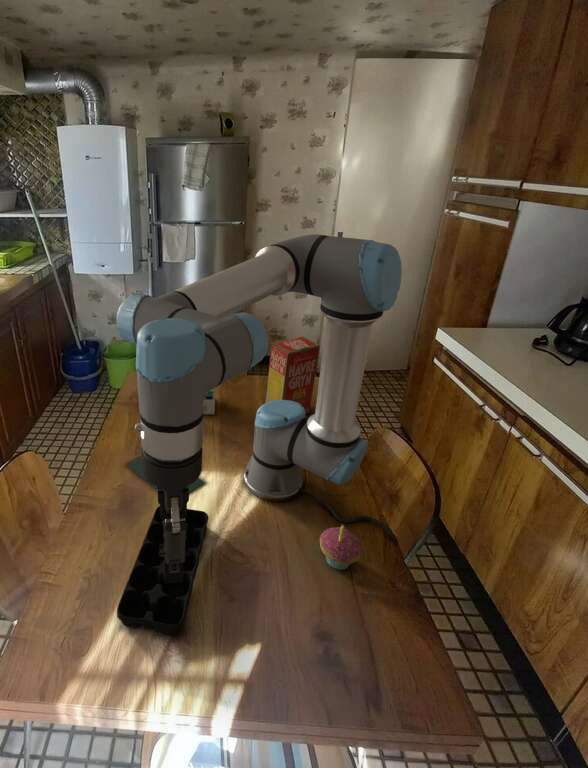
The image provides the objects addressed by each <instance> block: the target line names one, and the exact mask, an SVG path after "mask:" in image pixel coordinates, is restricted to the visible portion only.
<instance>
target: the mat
mask: <svg viewBox="0 0 588 768" xmlns="http://www.w3.org/2000/svg"><path fill="white" fill-rule="evenodd" d="M126 466H127V468H129V469H130V470H132V471H133V472H134V473H135V474H137V475H138V476H139V477H140V478H142V479H143V480H144V481H146V482H147V483H148V484H149V485H151V486H152V487H153V488H154V489H155V490H157V491H158V489H157V486H155V485H153V484H151V483H150V482H148V481H147V479H146V478H145V477H144V475H143V471H142V456H141V457H139V458H136V459H135V460H134V461H131V462H130V463H128V464H126ZM205 483H206V482H205V481H204V480H203V479H201V478H200V477H198V479H197V480H196V481H195V482H193V483H192V484H190V485H188V486H187V487H188V488H189V494H190V493H191V492H193V491H194V490H196V489H198V488H199V487H200V486H202V485H204V484H205Z"/></svg>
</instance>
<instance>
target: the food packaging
mask: <svg viewBox="0 0 588 768" xmlns="http://www.w3.org/2000/svg"><path fill="white" fill-rule="evenodd" d="M320 347H321V345H320V344H319V343H317V342H315V341H313V340H311V339H309V338H307V337H305V336H297V337H294V338H290V339H286V340H281V341H275V342H271V347H270V355H269V364H268V365H269V366H268V375H267V384H266V385H267V386H266V396H265V403H267V402H270V401H276V400H289V401H294V402H297V403H299V404H301V405H302V406H303V407H304V409H305V413H306V414H308V413H310V412H311V405H312V399H313V392H314V385H315V380H316V374H317V367H318V361H319V355H320Z"/></svg>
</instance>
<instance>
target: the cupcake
mask: <svg viewBox="0 0 588 768" xmlns="http://www.w3.org/2000/svg"><path fill="white" fill-rule="evenodd" d="M319 546H320V549H321V552H322V554H323V555H324V556H325V560H326V562H327V564H328V565H329V566H330V567H332V568H333V569H336V570H339V571H340V570H341V571H342V570H346V569H347V568H348V567H350V565H351V564H354V563H356V562H358V561H359V560H360V557H361V555H362V552H363V546H362V544H361V541H360V539H359V537H358V536H357V535H355V534H354V533H353V532H352V531H350V530H349V529H346V528H345V526H344V524H342V525H341V526H340V527H339V526H337V527H336V526H335V527H334V526H333V527H328V528H326V529H325V530H323V532H322V533H321V535H320V536H319Z"/></svg>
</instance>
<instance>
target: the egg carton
mask: <svg viewBox="0 0 588 768" xmlns="http://www.w3.org/2000/svg"><path fill="white" fill-rule="evenodd" d="M185 520H186V522H187V525H188V528H187V531H186V536H187V539H185V561H184V562H183V582H181V583H170V584H165V579H164V556H160V550H159V548H164V547H163V543H165V541H164V538H163V533H164V527H163V525H162V522H163V520H162V519H161V517H160V505H159V506H157V507H156V508H155V511H154V513H153V516H152V518H151V521H150V524H149V525H148V528H147V531H146V534H145V536H144V539H143V541H142V544H141V546H140V549H139V551H138V554H137V556H136V559H135V561H134V564H133V565H132V566H133V567H132V569H131V572H130V574H129V577H128V579H127V582H126V584H125V587H124V589H123V592H122V595H121V597H120V600H119V602H118V604H117V608H116V616H117V619H118V620H119V621H120V622H121V624H123V626H126V627H127V628H133V629H141V628H143V627H146V628H149V629H154V630H155V632H156V633H157V634H159V635H163V636H168V637H175V636H176V637H177V635H179V634H180V633H181V631H182V628H183V627H184V624H185V621H186V618H187V614H188V610H189V604H190V600H191V597H192V593H193V588H194V584H195V579H196V574H197V570H198V567H199V563H200V557H201V554H202V550H203V546H204V541H205V536H206V531H207V527H208V522H209V514H208V513H207V512H206V511H204V510H197V509H191V508H187V517H186V518H185Z"/></svg>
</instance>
